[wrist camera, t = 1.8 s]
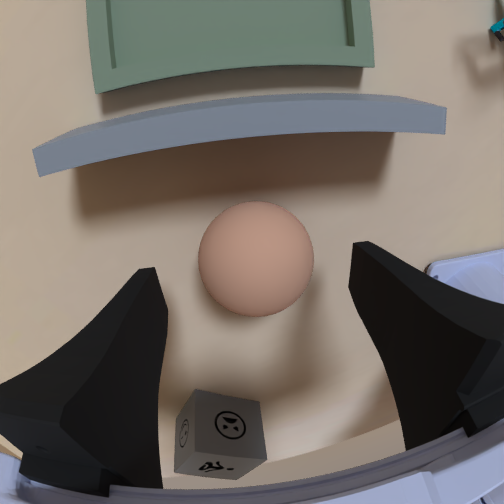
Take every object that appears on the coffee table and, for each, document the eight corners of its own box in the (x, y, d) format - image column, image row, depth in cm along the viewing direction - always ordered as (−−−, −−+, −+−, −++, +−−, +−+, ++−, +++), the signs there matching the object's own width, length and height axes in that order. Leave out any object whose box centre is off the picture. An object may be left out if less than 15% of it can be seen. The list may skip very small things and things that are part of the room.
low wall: (398, 117, 12) (444, 134, 9) (78, 151, 12) (39, 177, 9) (398, 96, 11) (446, 107, 9) (73, 129, 11) (32, 149, 8)
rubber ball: (299, 267, 16) (323, 331, 12) (209, 278, 15) (207, 346, 12) (298, 180, 13) (331, 227, 9) (193, 192, 13) (182, 244, 9)
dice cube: (195, 388, 20) (194, 451, 16) (259, 401, 22) (267, 459, 18) (176, 418, 22) (174, 472, 18) (232, 428, 24) (236, 479, 20)
